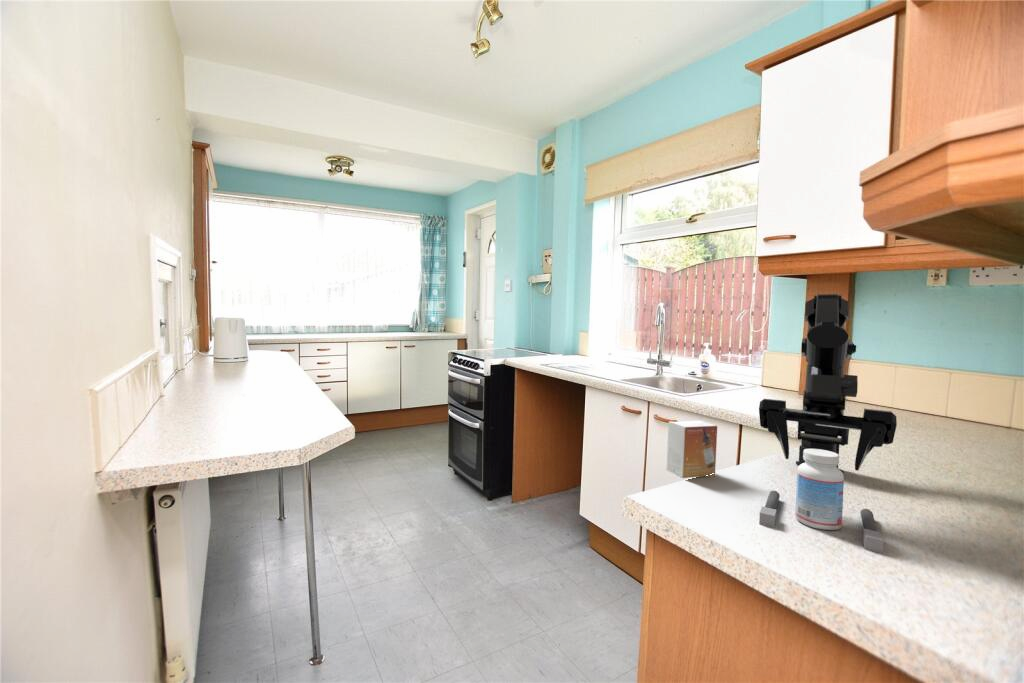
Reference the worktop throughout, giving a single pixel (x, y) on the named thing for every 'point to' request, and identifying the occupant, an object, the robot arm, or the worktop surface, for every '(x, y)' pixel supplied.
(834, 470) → the pill bottle
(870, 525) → the grey block-headed part
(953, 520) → the worktop surface
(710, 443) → the small box
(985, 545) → the worktop surface
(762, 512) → the grey block-tipped rod
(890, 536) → the worktop surface
